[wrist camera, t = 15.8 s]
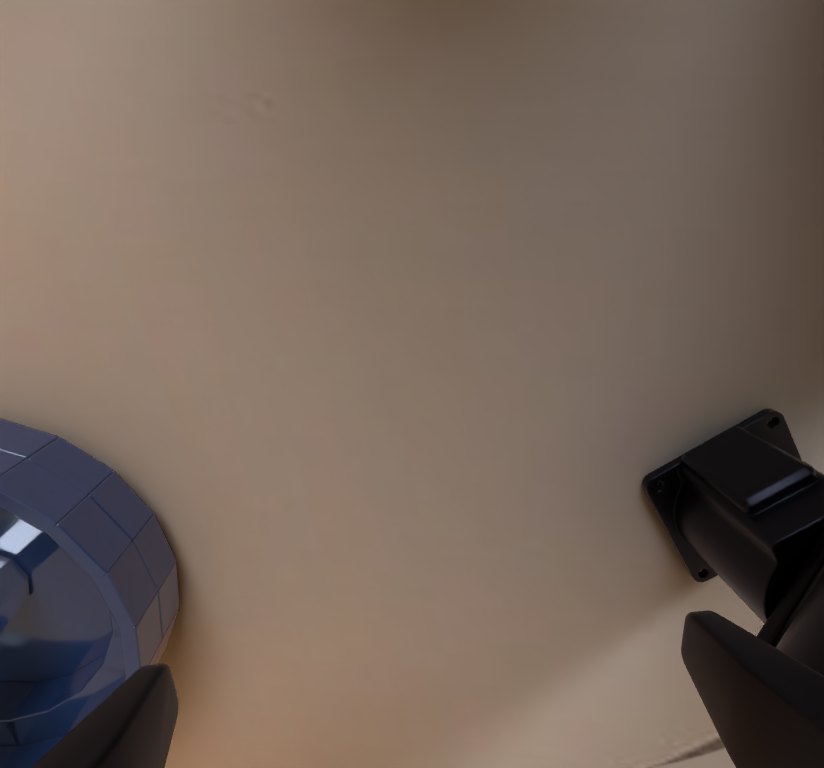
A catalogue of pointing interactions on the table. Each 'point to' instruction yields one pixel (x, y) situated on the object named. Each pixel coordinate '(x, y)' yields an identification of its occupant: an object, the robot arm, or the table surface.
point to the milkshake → (11, 589)
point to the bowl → (74, 589)
